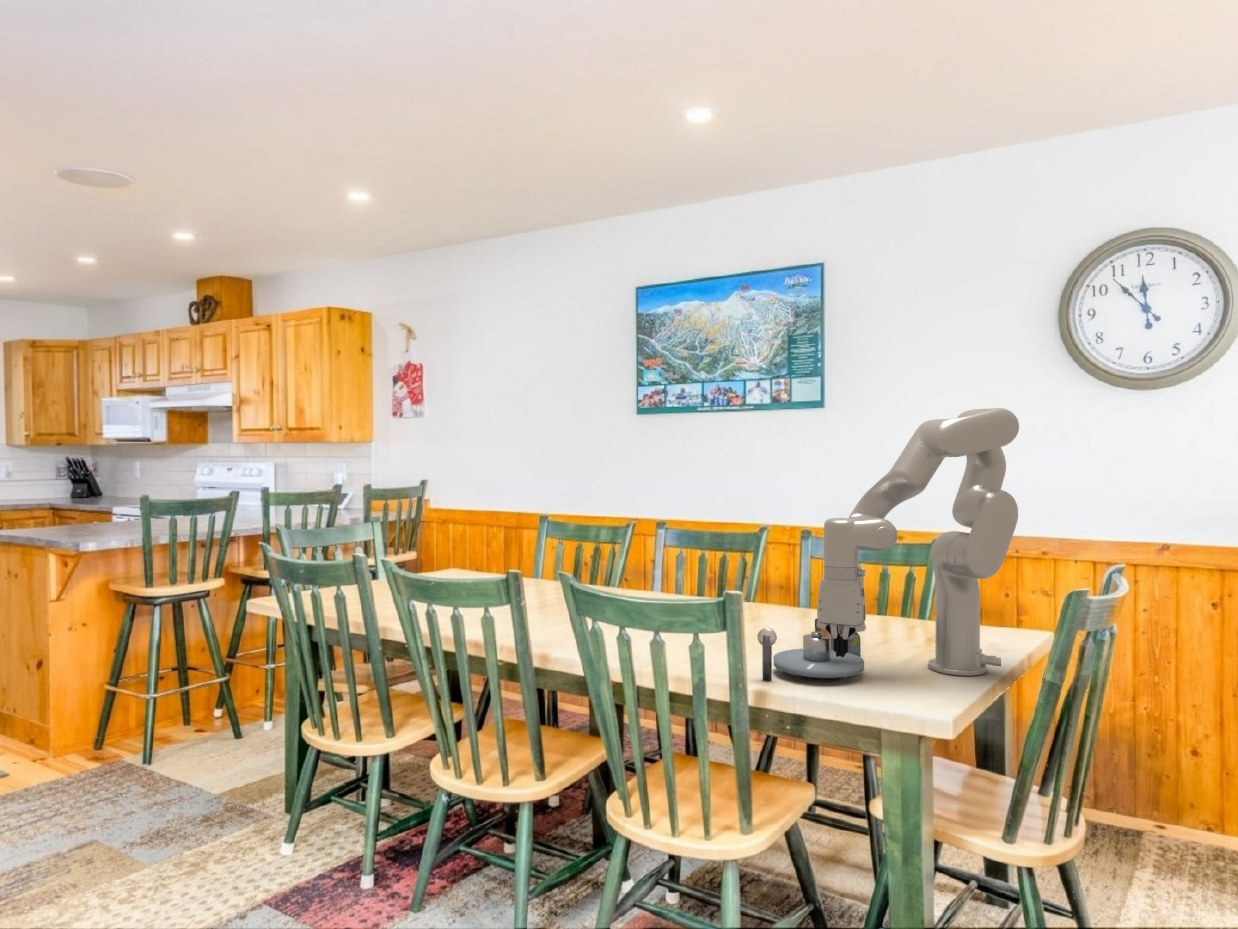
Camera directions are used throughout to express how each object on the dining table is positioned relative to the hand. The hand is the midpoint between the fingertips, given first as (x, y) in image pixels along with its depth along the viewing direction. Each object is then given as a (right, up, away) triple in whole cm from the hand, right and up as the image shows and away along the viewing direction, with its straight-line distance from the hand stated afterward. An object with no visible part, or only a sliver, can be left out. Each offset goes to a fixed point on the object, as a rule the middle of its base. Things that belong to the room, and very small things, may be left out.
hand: (840, 655), depth 193 cm
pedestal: (-5, -5, +2) cm, 7 cm away
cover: (-5, -1, +2) cm, 6 cm away
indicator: (-17, -5, -3) cm, 18 cm away
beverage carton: (+5, -5, +26) cm, 26 cm away
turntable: (-4, -3, +3) cm, 6 cm away
